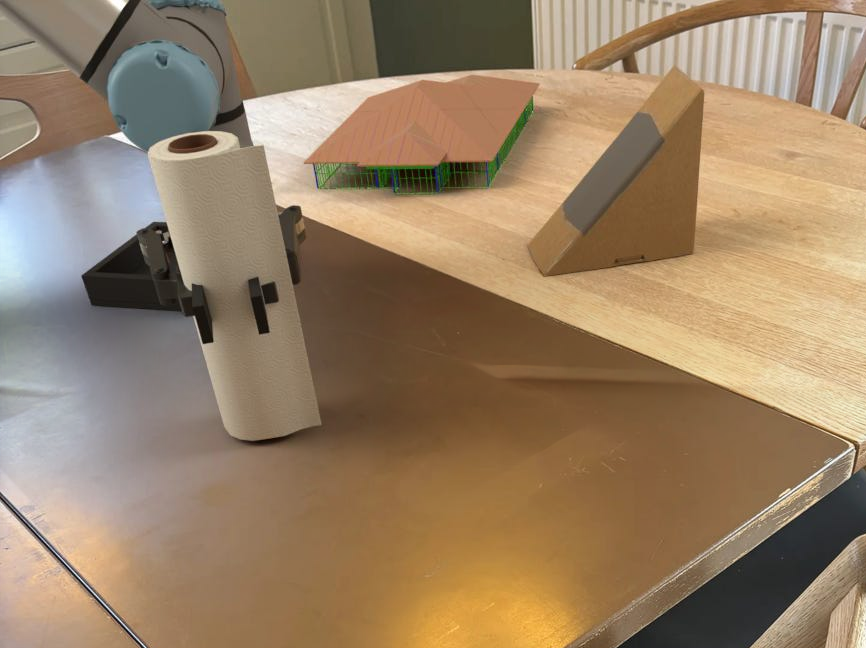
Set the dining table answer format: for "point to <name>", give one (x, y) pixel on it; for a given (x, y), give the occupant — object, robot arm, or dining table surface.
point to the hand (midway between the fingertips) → (231, 319)
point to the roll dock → (127, 277)
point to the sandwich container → (634, 190)
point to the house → (429, 129)
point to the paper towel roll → (237, 279)
